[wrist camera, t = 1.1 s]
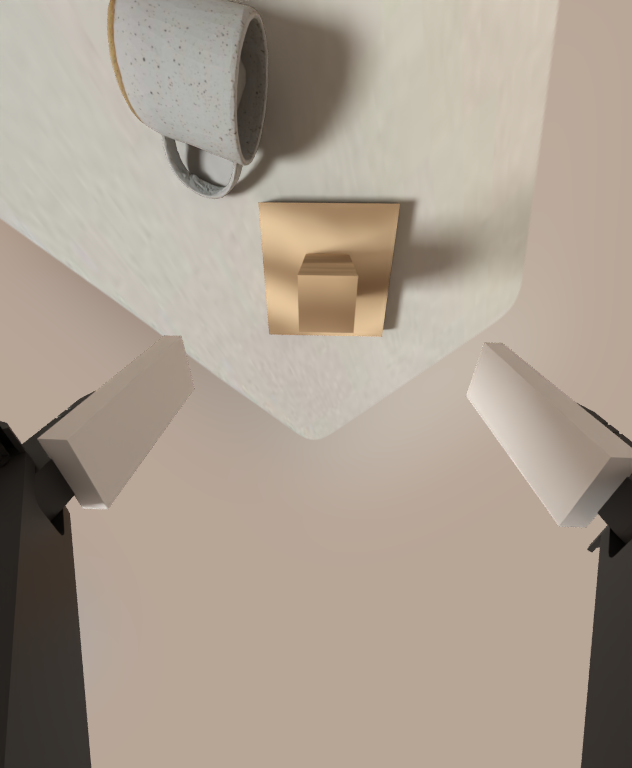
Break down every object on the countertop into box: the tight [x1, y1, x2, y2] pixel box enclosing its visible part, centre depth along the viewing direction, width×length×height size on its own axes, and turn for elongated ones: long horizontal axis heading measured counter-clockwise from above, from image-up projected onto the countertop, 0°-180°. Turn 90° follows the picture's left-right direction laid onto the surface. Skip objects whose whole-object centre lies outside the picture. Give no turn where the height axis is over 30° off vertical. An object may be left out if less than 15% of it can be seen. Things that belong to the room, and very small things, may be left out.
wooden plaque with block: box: [258, 202, 400, 337], centre depth 25 cm, size 12×12×10 cm
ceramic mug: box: [107, 0, 268, 199], centre depth 20 cm, size 11×8×8 cm
